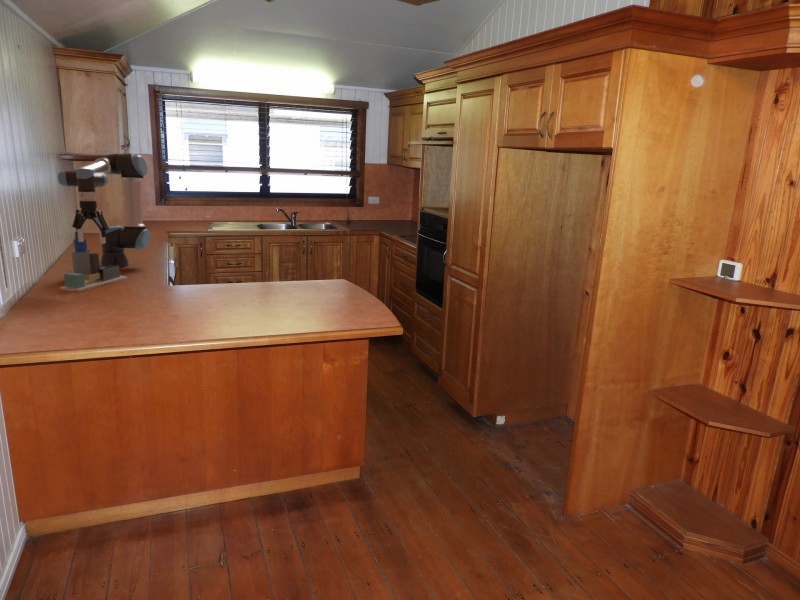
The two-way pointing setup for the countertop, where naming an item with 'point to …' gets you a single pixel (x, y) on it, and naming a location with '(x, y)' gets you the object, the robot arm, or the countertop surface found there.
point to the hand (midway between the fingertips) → (92, 242)
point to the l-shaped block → (93, 268)
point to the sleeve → (109, 272)
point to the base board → (94, 284)
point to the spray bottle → (81, 257)
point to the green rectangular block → (74, 280)
